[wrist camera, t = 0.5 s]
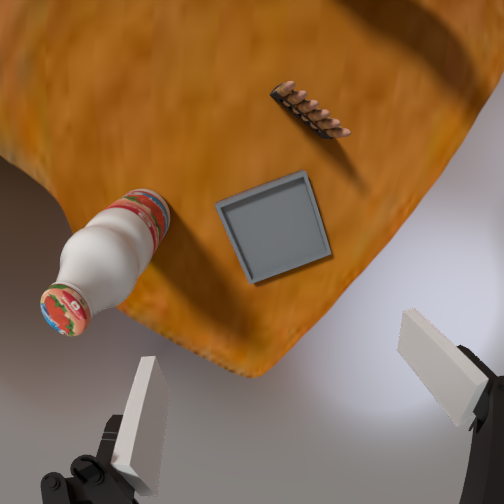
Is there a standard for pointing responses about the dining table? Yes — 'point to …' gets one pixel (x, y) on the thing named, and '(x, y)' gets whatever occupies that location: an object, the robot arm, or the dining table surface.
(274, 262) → the tray
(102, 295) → the white milk bottle
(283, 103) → the ammunition clip
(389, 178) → the dining table surface
